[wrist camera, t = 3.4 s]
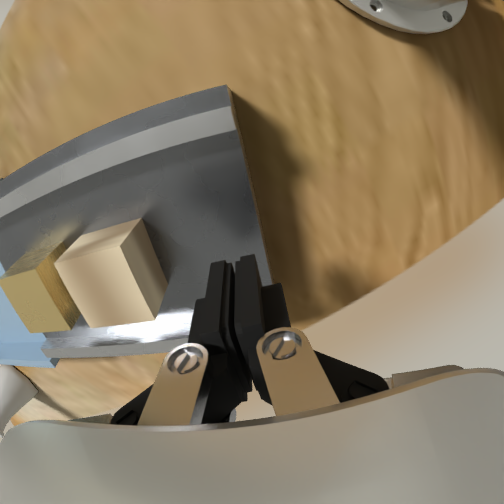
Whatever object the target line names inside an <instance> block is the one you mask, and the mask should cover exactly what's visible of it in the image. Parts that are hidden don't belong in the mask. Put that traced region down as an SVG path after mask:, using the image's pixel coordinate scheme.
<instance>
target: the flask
mask: <svg viewBox="0 0 504 504" xmlns="http://www.w3.org/2000/svg"><path fill="white" fill-rule="evenodd" d="M37 393H38V390H37V389H36V388H35V387H34V386H33V384H32V383H31V382H30V381H29V379H28V378H26V377H25V376H24V375H23V374H21V373H20V372H19V371H18V370H16V369H15V368H14V367H13V366H11V365H4V364H1V365H0V437H2V438H3V436H4V433H3V431H4V428H5V426H6V424H7V423H8V421H9V420H10V419H11V417H12V416H13V415H14V414H15V413H16V412H18V411H19V410H20V409H21V408H22V407H23V406H24V405H25V404H26V403H28V402H29V401H30V400H31V399H32V398H33V397H34V396H35V395H36V394H37Z"/></svg>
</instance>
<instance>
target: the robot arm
mask: <svg viewBox="0 0 504 504" xmlns="http://www.w3.org/2000/svg"><path fill="white" fill-rule="evenodd" d="M339 1H340V2H341V3H343V4H344V5H345V6H347V7H349V8H350V9H352V10H354V11H355V12H357V13H358V14H360V15H362V16H363V17H365V18H368V19H370V20H372V21H374V22H376V23H378V24H380V25H383V26H386V27H389V28H391V29H394V30H397V31H402V32H407V33H412V34H431V33H436V32H441V31H444V30H447V29H450V28H452V27H453V26H455V25H456V24H457V23H459V22H460V20H461V19H462V17H463V16H464V14H465V11H466V8H467V3H468V0H339ZM502 1H504V0H502ZM371 7H372V8H373V9H374V10H373V9H372V8H371ZM252 380H253V383H254V386H255V388H256V390H257V391H258V392H259V394H260V397H261V399H263V400H264V401H266V402H267V403H269V404H271V405H272V406H273V408H274V411H275V414H276V416H274V417H268V418H261V419H253V420H246V421H237V422H235V420H236V410H235V408H236V407H237V406H238V405H239V404H240V403H241V402H244V401H247V392H251V391H252ZM0 504H504V372H503V371H500V370H497V369H491V368H473V369H463V368H462V367H459V366H456V365H447V366H442V367H436V368H430V369H424V370H418V371H412V372H405V373H397V374H392V378H384V379H383V378H382V377H380V376H378V375H377V374H375V373H372V372H369V371H366V370H364V369H361V368H358V367H356V366H353V365H350V364H348V363H345V362H342V361H340V360H337V359H335V358H332V357H330V356H327V355H325V354H322V353H320V352H317V351H315V350H313V349H312V347H311V345H310V343H309V341H308V339H307V337H306V336H305V335H304V333H303V332H302V331H300V330H298V329H295V328H291V325H290V321H289V316H288V312H287V307H286V303H285V298H284V294H283V289H282V285H281V283H277V284H272V285H268V286H262V282H261V278H260V274H259V269H258V265H257V261H256V257H255V254H251V255H246V256H241V257H240V261H236V262H235V272H234V268H233V265H232V263H227V262H226V260H222V261H217V262H213V263H211V265H210V271H209V276H208V282H207V288H206V295H205V298H201V299H197V300H196V302H195V306H194V311H193V316H192V321H191V327H190V332H189V337H188V343H187V344H183V345H180V346H177V347H176V348H174V349H173V350H171V351H170V352H169V353H168V354H167V355H166V357H165V359H164V360H163V363H162V365H161V368H160V370H159V372H158V375H157V377H156V380H155V382H154V384H153V385H151V386H150V387H149V388H147V389H146V390H145V391H143V392H142V393H141V394H139V395H138V396H137V397H135V398H134V399H133V400H131V401H130V402H129V403H127V404H126V405H125V406H123V407H122V408H120V409H119V410H118V411H117V412H116V413H115V414H114V416H112V415H111V414H105V415H99V416H93V417H87V418H80V419H73V420H68V421H63V420H37V421H29V422H25V423H22V424H19V425H16V426H14V427H13V428H11V429H10V430H8V432H7V433H6V434H5V436H4V437H3V439H2V441H1V443H0Z"/></svg>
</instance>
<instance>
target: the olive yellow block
mask: <svg viewBox="0 0 504 504" xmlns="http://www.w3.org/2000/svg"><path fill="white" fill-rule="evenodd" d="M65 251H66V248H65V246H64V244H63V242H60V243H57V244H54V245H51V246H48V247H45V248H42V249H39V250H36V251H33V252H30V253H27V254H25V255H23V256H22V257H20V258H19V259H18V260H17V261H16V262H15V263H14V264H13V265H12V266H11V267H10V268H9V269H8V270H7V271H6V272H5V273H4V274H3V275H2V276H1V277H0V286H1V288H2V289H3V291H4V293H5V295H6V296H7V298H8V300H9V301H10V303H11V305H12V306H13V308H14V310H15V311H16V313H17V314H18V316H19V317H20V319H21V320H22V322H23V323H24V325H25V326H26V328H27V329H28V331H29V332H30V333H43V332H56V331H67V330H72V328H73V327H74V325H75V323H76V321H77V320H78V318H79V316H80V315H81V312H80V310H79V309H78V307H77V305H76V304H75V302H74V300H73V298H72V297H71V295H70V293H69V291H68V290H67V288H66V286H65V284H64V282H63V281H62V279H61V277H60V275H59V273H58V271H57V269H56V267H55V265H54V263H55V262H56V261H57V260H58V259H59V257H60V256H61V255H62V254H63V253H64V252H65Z"/></svg>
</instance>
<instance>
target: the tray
mask: <svg viewBox="0 0 504 504" xmlns="http://www.w3.org/2000/svg"><path fill="white" fill-rule="evenodd" d="M1 180H3V179H2V178H1V179H0V181H1ZM4 273H5V270H4V268H3V266H2V264H1V262H0V277H1V276H2V275H3V274H4ZM45 340H46V337H45V336H44V334H43V333H30V332H29V331H28V329H27V328H26V326H25V325H24V323H23V322H22V320H21V319H20V317H19V316H18V314H17V313H16V311H15V310H14V308H13V306H12V305H11V303H10V301H9V300H8V298H7V296H6V295H5V293H4V291H3V289H2V288H1V286H0V364H4V365H15V366H28V367H47V368H55V367H56V365H57V363H58V361H59V359H60V358H47V357H46V356H45V354H44V353H43V352H42V350H41V349H40V348H41V346H42V345H43V343H44V342H45Z"/></svg>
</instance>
